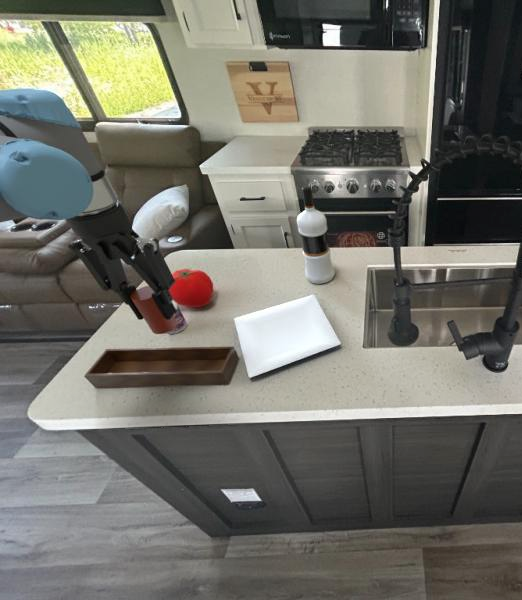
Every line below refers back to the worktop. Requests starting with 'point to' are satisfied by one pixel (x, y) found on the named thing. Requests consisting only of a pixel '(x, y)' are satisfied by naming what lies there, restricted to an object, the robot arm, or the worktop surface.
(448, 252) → the worktop surface
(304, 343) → the plate
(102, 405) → the worktop surface
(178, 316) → the pill bottle
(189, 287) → the tomato
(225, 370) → the wooden tray
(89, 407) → the worktop surface
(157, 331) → the spice tin
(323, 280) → the vodka
